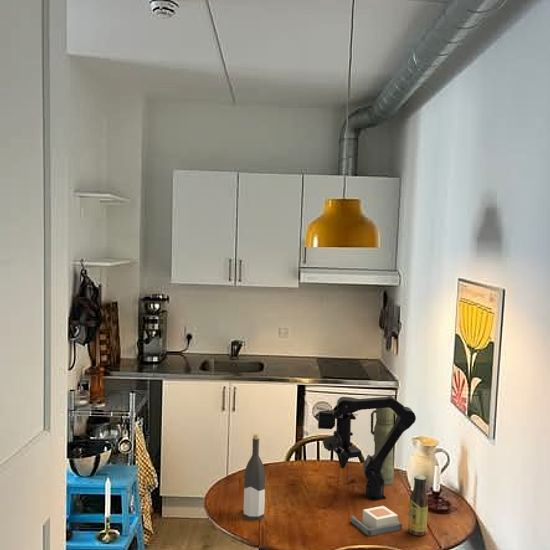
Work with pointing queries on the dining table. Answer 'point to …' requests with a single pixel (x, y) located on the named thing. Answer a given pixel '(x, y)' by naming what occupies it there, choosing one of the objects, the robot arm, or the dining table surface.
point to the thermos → (380, 432)
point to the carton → (379, 517)
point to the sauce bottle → (418, 507)
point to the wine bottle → (254, 485)
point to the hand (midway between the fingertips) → (342, 468)
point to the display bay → (378, 529)
